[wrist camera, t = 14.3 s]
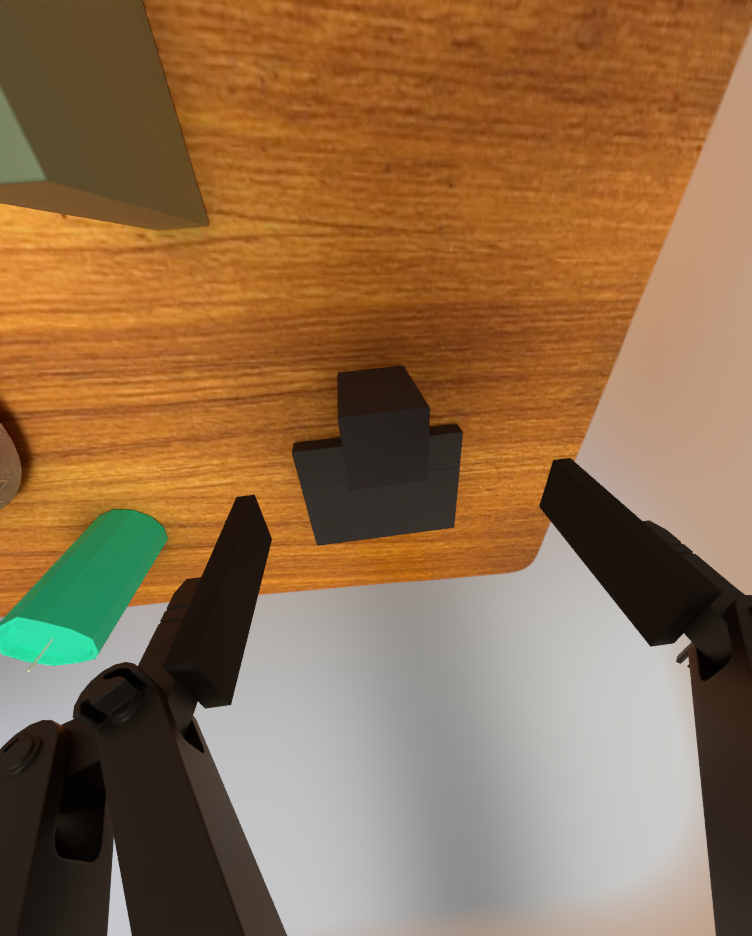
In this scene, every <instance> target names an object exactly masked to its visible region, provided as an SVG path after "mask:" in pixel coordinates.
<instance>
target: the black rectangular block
mask: <svg viewBox="0 0 752 936" xmlns="http://www.w3.org/2000/svg"><path fill="white" fill-rule="evenodd" d="M337 378H338V423H339V429H340V435H341V441H342V448H343V454H344V460H345V466H346V473H347V479H348V485H349V490H358V489H366V488H374V487H382V486H390V485H398V484H406V483H414V482H421V481H428V462H429V419H430V407H429V405H428V404H427V402H426V401H425V399H424V398H423V396H422V394H421V393H420V391H419V390H418V388H417V387H416V385H415V384H414V382H413V380H412V379H411V377H410V376H409V374H408V373H407V371H406V369H405V368H404V366H397V367H388V368H379V369H370V370H360V371H351V372H342V373H338V374H337Z"/></svg>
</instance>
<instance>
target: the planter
mask: <svg viewBox="0 0 752 936" xmlns="http://www.w3.org/2000/svg"><path fill="white" fill-rule="evenodd" d="M21 475H22V469H21V464H20V458H19V455H18V453H17V451H16V448H15V446H14V443H13V441H12V440H11V438H10V436H9V435H8V433H7V432H6V430H5V428H4V427H3V425H2V424H1V423H0V509H1V508H3V507H4V506H6V505H7V504H8V503H10V501H11V500H12V499H13V498H14V496H15V495H16V494H17V492H18V489H19V487H20V484H21Z"/></svg>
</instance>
